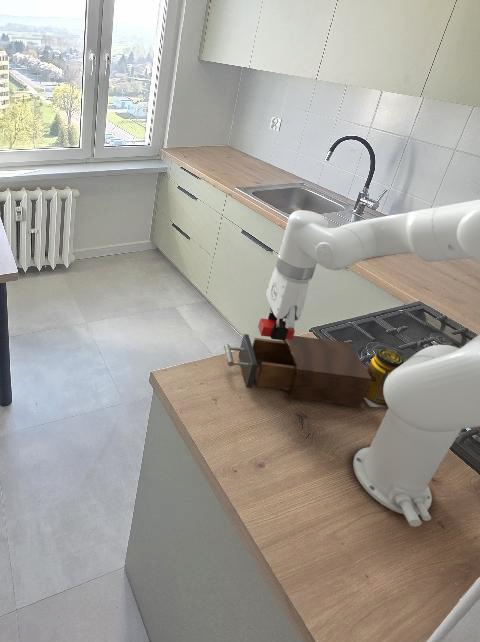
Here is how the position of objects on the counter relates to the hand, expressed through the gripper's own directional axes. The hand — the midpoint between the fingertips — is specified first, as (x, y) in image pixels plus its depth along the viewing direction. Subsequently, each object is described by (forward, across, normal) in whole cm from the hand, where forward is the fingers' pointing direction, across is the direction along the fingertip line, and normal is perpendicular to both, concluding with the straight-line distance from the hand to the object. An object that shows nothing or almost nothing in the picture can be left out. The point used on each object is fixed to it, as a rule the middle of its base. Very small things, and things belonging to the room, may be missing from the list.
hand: (275, 332), depth 97 cm
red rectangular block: (0, 0, 0) cm, 0 cm away
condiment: (+14, +1, +26) cm, 30 cm away
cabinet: (+14, 0, +12) cm, 19 cm away
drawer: (+13, 0, 0) cm, 13 cm away
